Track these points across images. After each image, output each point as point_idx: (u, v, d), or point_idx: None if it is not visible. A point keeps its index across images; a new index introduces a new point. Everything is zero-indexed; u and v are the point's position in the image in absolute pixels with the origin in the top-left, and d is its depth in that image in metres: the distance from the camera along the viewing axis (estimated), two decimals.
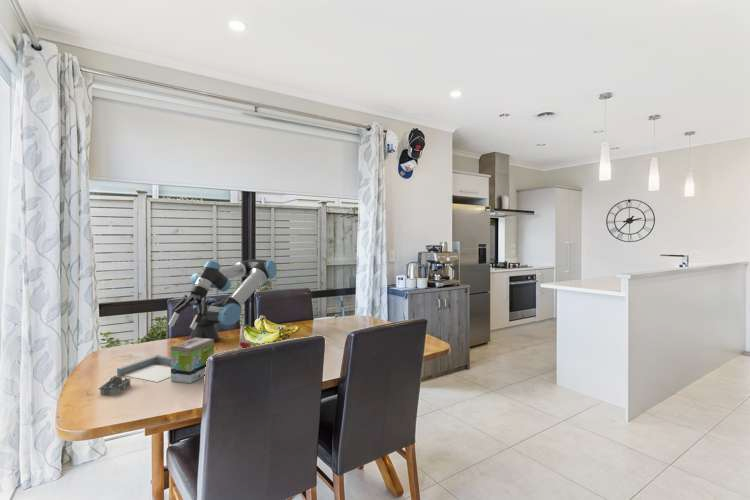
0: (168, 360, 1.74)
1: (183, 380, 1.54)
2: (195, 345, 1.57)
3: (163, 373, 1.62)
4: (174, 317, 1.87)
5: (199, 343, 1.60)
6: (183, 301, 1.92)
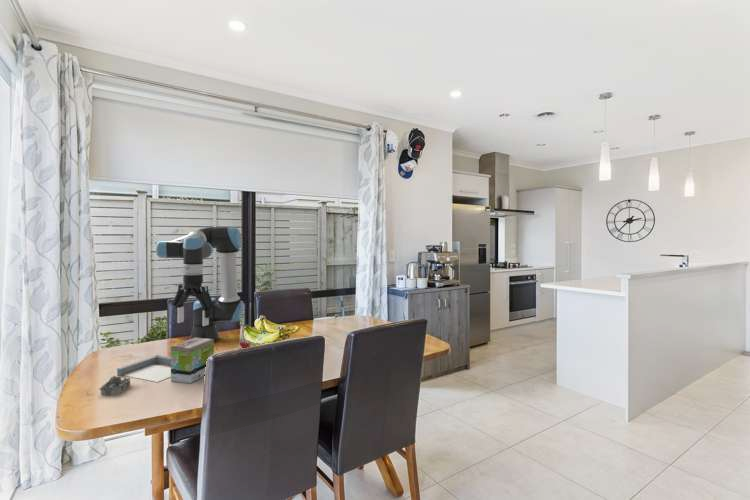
0: (168, 360, 1.74)
1: (183, 380, 1.54)
2: (195, 345, 1.57)
3: (163, 373, 1.62)
4: (180, 313, 1.62)
5: (199, 343, 1.60)
6: (180, 292, 1.62)
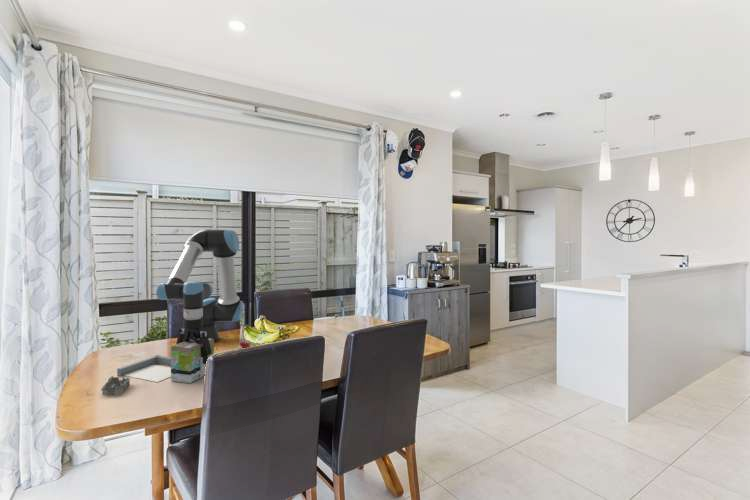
0: (168, 360, 1.74)
1: (183, 380, 1.54)
2: (195, 345, 1.57)
3: (163, 373, 1.62)
4: None
5: None
6: (181, 336, 1.63)
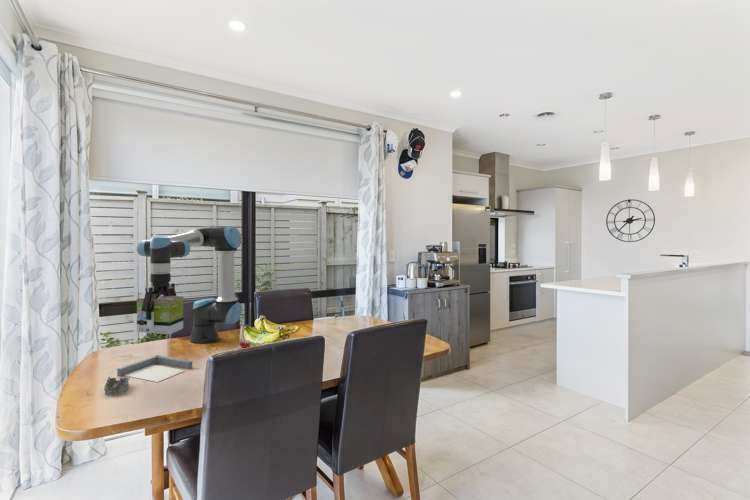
0: (168, 360, 1.74)
1: None
2: None
3: (163, 373, 1.62)
4: None
5: None
6: (170, 291, 1.68)
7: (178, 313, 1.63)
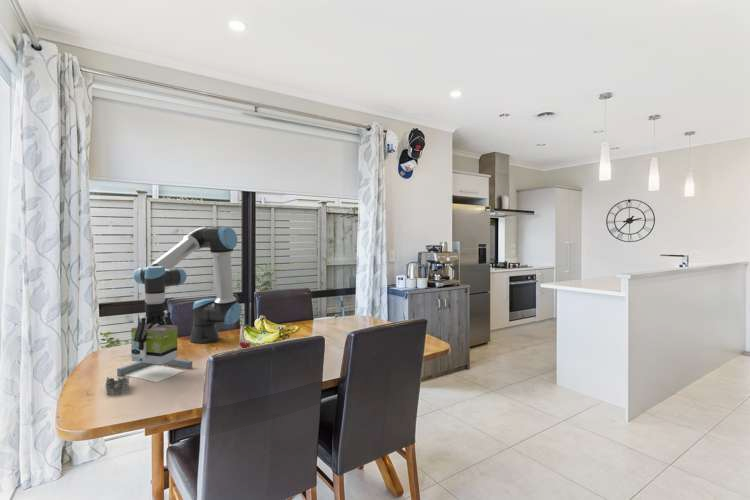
0: None
1: None
2: None
3: (163, 373, 1.62)
4: None
5: None
6: (166, 319, 1.68)
7: (171, 343, 1.63)
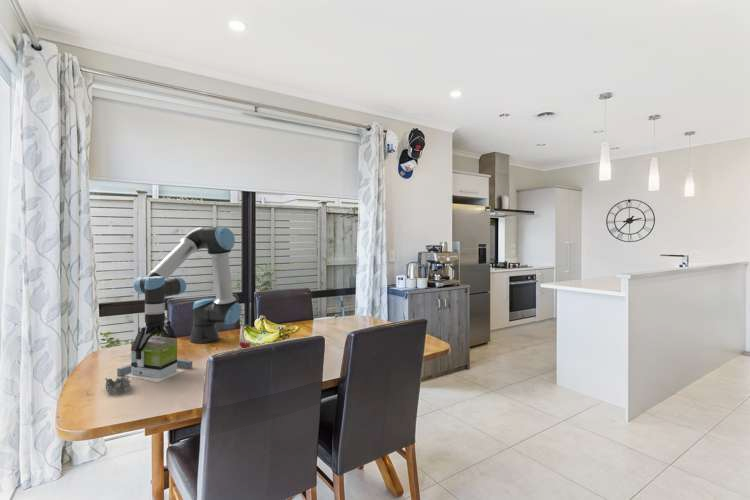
0: None
1: None
2: None
3: None
4: None
5: None
6: (166, 328, 1.69)
7: (171, 356, 1.63)
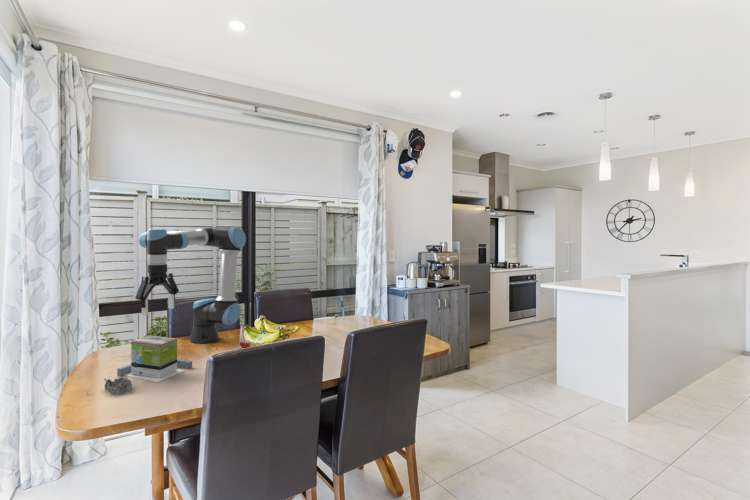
0: None
1: None
2: (140, 341, 1.60)
3: None
4: (169, 299, 1.74)
5: (146, 341, 1.60)
6: (169, 280, 1.73)
7: (171, 356, 1.63)
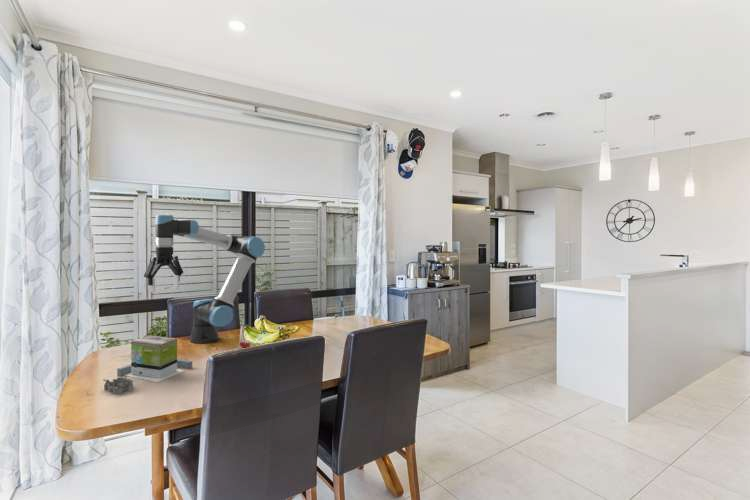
0: None
1: None
2: (140, 341, 1.60)
3: None
4: (174, 280, 1.90)
5: (146, 341, 1.60)
6: (174, 262, 1.90)
7: (171, 356, 1.63)
